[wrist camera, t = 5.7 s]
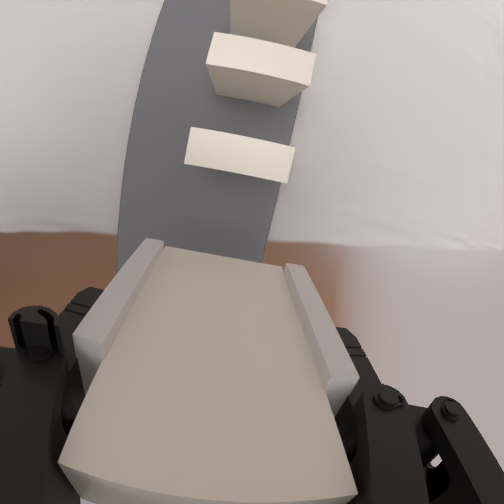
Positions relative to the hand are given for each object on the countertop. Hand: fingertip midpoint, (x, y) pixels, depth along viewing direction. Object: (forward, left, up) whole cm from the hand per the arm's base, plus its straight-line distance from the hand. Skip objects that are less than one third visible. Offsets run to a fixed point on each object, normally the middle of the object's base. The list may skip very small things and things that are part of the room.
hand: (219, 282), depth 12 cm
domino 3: (0, +5, -13) cm, 14 cm away
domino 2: (0, +10, -13) cm, 17 cm away
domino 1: (0, +15, -13) cm, 20 cm away
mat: (-3, +9, -14) cm, 17 cm away
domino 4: (0, 0, -1) cm, 1 cm away
